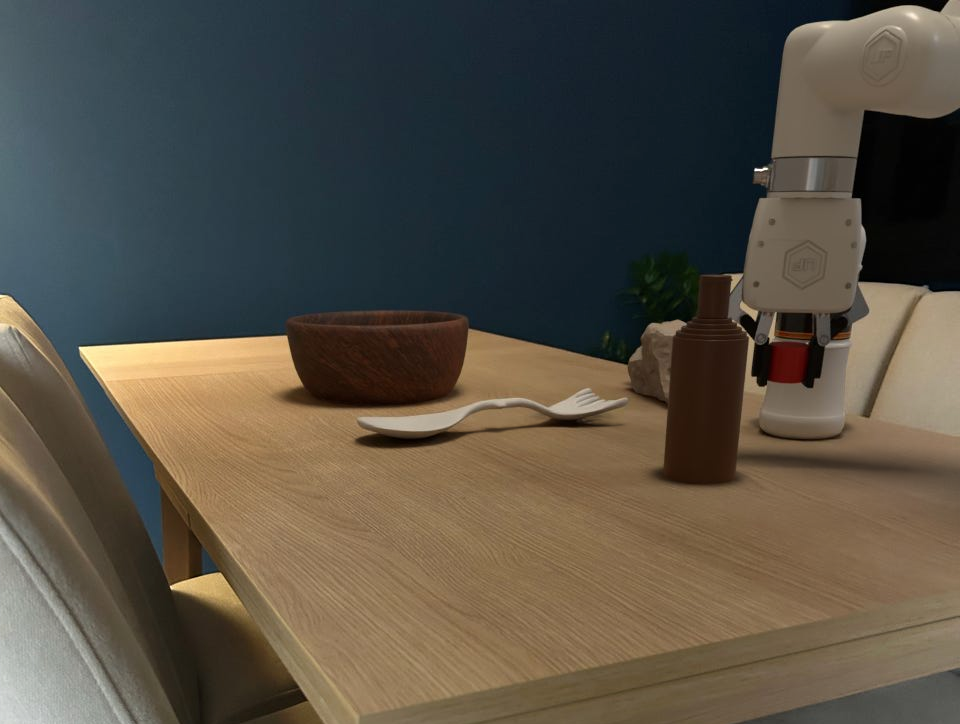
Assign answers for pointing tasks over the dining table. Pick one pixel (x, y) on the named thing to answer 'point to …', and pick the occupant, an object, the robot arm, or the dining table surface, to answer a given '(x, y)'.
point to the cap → (788, 362)
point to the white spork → (436, 423)
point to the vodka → (822, 405)
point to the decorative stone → (654, 360)
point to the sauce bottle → (706, 390)
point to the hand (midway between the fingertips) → (784, 383)
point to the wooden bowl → (378, 354)
